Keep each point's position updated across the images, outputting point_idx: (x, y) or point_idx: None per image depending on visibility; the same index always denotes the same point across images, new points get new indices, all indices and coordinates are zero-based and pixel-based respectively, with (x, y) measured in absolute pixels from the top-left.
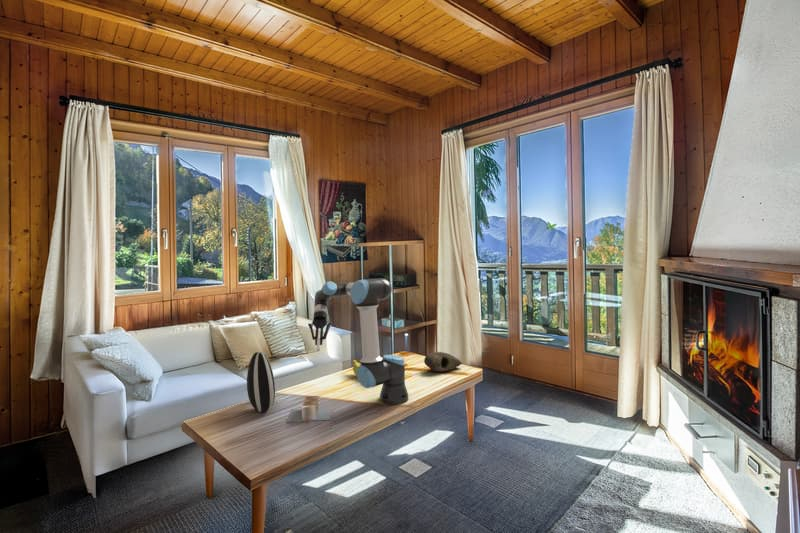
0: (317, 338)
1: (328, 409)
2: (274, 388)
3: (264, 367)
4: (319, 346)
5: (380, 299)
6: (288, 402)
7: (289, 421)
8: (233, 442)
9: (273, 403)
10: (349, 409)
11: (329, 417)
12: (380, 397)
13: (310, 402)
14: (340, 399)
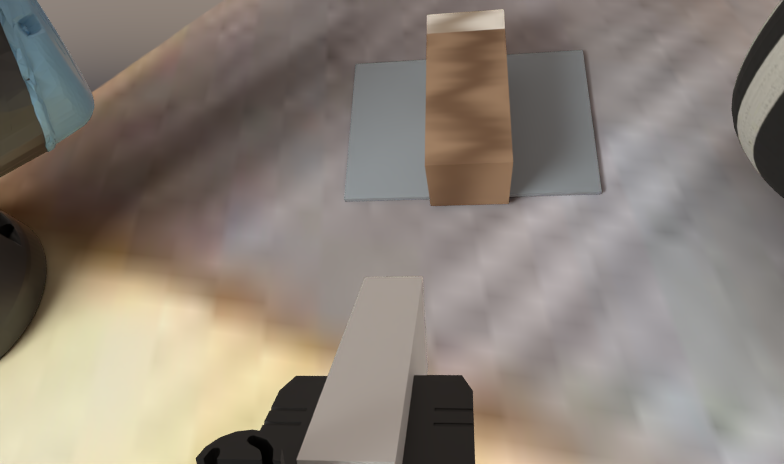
0: (390, 457)
1: (365, 173)
2: (771, 32)
3: None
4: (359, 298)
5: None
6: (673, 331)
7: (567, 51)
8: None
9: (732, 111)
10: (247, 177)
11: (358, 81)
12: (31, 266)
13: (462, 69)
14: (287, 337)
